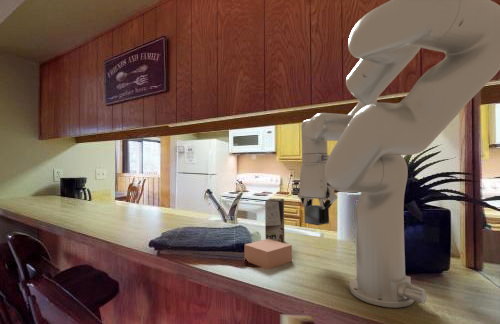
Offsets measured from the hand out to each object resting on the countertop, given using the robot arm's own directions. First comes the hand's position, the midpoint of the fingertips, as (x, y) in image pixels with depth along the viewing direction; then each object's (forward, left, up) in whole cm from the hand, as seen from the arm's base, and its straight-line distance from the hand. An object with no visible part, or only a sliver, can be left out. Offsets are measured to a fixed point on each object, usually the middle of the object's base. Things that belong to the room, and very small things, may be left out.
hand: (316, 220), depth 80 cm
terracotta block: (+9, +12, -12) cm, 19 cm away
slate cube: (0, 0, -1) cm, 1 cm away
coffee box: (+23, -2, -12) cm, 26 cm away
